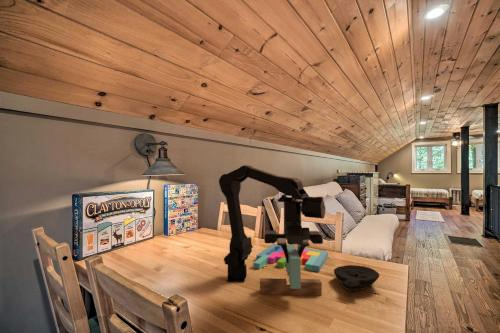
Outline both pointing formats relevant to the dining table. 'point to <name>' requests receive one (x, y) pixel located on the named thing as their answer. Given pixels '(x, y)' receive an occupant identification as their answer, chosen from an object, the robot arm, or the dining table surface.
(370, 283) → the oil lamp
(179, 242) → the dining table surface
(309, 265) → the tetris game
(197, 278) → the dining table surface
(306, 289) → the walnut rail
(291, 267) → the teal plate
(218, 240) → the dining table surface
